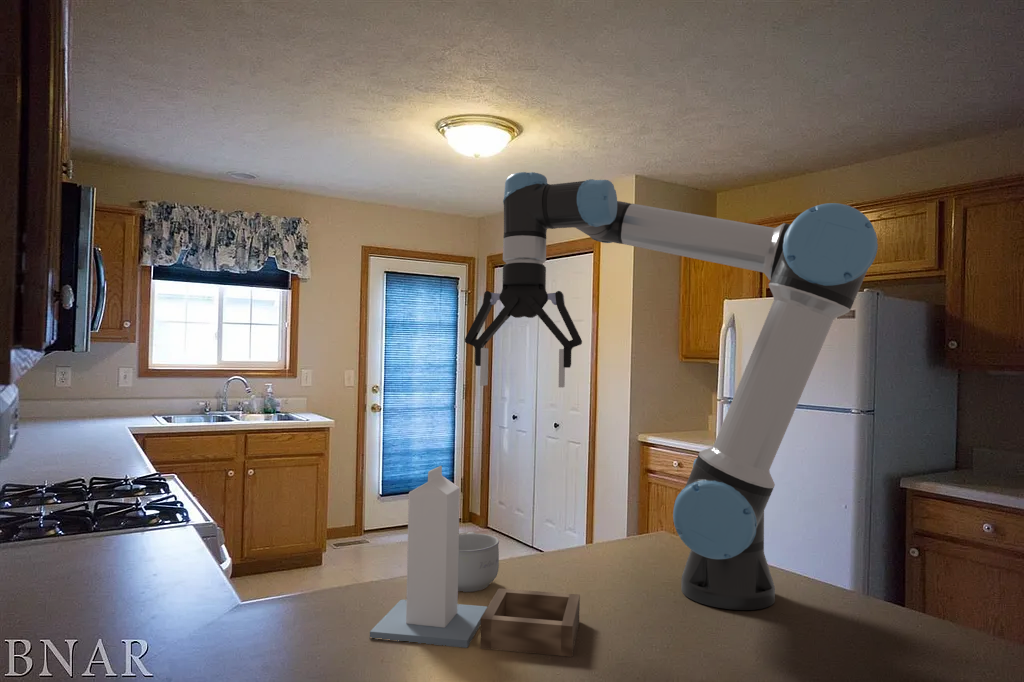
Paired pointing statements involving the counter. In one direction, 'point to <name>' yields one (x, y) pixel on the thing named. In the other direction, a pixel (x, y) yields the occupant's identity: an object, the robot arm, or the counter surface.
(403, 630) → the board
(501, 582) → the counter surface
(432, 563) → the milk
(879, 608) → the counter surface
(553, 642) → the frame
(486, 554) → the teacup
